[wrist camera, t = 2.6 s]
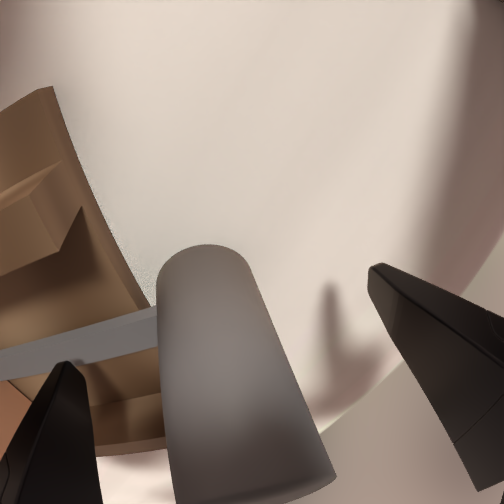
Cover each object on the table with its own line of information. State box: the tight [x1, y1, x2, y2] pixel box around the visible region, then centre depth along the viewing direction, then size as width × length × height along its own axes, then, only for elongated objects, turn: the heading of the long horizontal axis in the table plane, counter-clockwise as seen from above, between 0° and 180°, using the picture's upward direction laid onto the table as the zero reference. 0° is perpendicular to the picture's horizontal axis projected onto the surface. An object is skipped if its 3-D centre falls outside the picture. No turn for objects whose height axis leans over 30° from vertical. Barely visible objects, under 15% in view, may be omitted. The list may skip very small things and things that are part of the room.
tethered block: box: [0, 245, 337, 504], centre depth 6 cm, size 17×6×6 cm, turn 102°
